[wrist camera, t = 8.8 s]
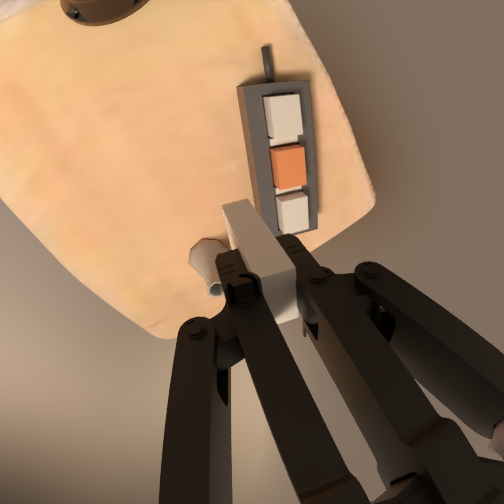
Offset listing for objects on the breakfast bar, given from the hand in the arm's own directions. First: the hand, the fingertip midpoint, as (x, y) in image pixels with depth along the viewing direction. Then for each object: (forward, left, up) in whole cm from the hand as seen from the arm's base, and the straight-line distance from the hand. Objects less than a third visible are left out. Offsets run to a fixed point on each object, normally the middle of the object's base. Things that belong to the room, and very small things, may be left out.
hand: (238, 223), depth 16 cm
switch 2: (+6, +13, -27) cm, 30 cm away
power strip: (+3, +13, -29) cm, 32 cm away
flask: (+21, -2, -30) cm, 36 cm away
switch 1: (-2, +13, -27) cm, 30 cm away
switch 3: (+14, +13, -27) cm, 33 cm away
